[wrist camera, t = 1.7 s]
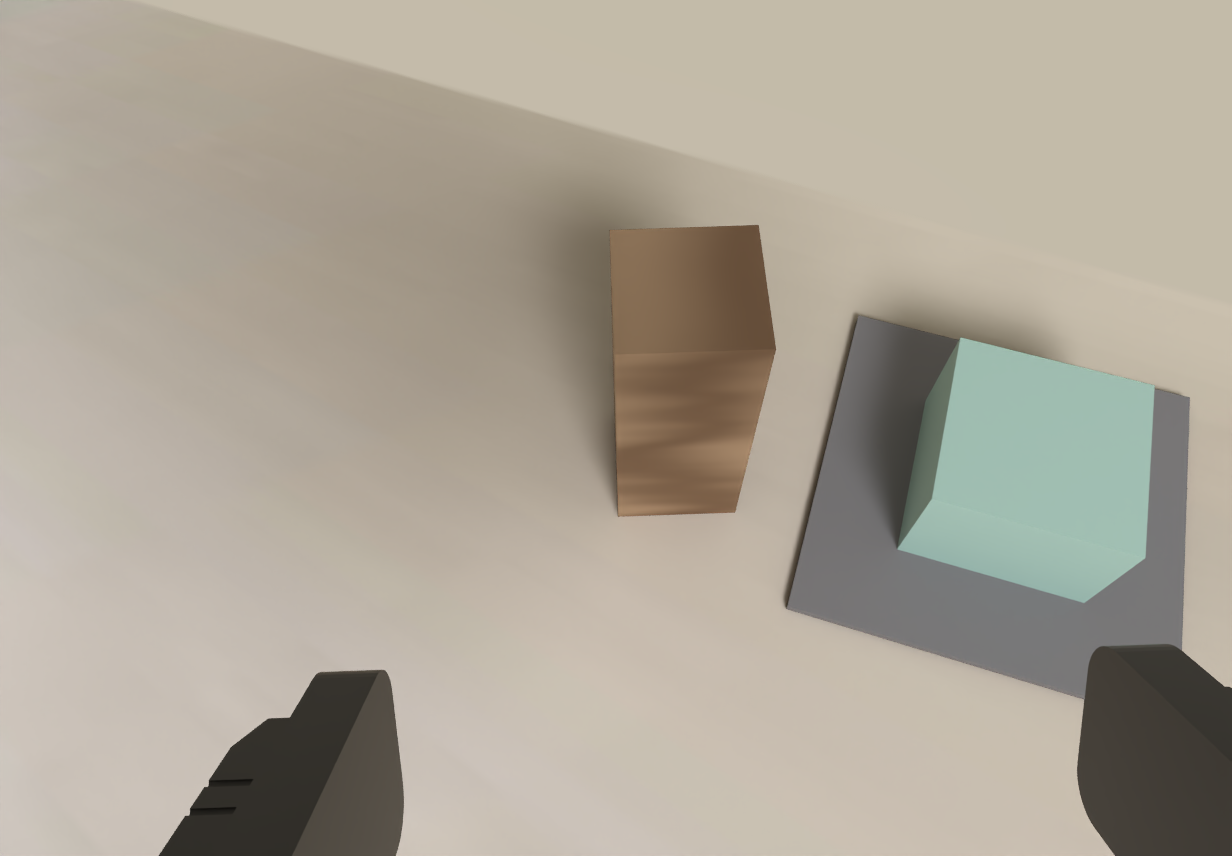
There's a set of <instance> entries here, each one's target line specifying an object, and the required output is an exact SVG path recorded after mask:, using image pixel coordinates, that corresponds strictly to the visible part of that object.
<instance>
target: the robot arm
mask: <svg viewBox="0 0 1232 856" xmlns="http://www.w3.org/2000/svg"><path fill="white" fill-rule="evenodd" d="M1077 776H1078V785H1079V790H1080V795H1081V799H1082V802H1083V805H1084V808H1085V810H1086V813H1087V815H1088V817H1089V819H1090V821H1091V823H1092V824H1093V826H1094V827H1095V829H1096V830H1097V832H1098V833H1099V834H1100V836H1101V837H1102V838H1103V840H1104V841H1105V843H1106V844H1107V845H1108V847H1109V848H1110V849H1111V851H1112V852H1113V853H1114V855H1115V856H1232V688H1230V687H1224V686H1223V685H1222V684H1221V683H1219V682H1218V681H1217V680H1216V679H1215V678H1214V677H1212V676H1211V675H1210V674H1209V673H1208V672H1206V671H1205V670H1204V669H1203V668H1202V667H1200V666H1199V665H1198V664H1197V663H1196V662H1194V661H1193V660H1192V659H1191V658H1190V657H1189V656H1187V655H1186V654H1185V653H1184V652H1183V651H1181V650H1180V649H1179V648H1177V647H1176V646H1174V645H1171V644H1146V645H1118V646H1101V647H1098V648H1097V649H1096V650H1095V651H1094V652H1093V654H1092V656H1091V658H1090V661H1089V666H1088V673H1087V682H1086V691H1085V700H1084V709H1083V718H1082V727H1081V736H1080V745H1079V754H1078V765H1077ZM403 810H404V793H403V781H402V772H401V764H400V755H399V746H398V738H397V729H396V720H395V712H394V703H393V695H392V687H391V682H390V679H389V676H388V674H387V672H386V671H385V670H366V671H338V672H320V673H318V674H316V675H315V677H314V678H313V680H312V681H311V683H310V685H309V687H308V688H307V690H306V692H305V693H304V695H303V697H302V698H301V700H300V702H299V703H298V705H297V707H296V708H295V710H294V712H293V713H292V715H291V717H290V718H271V719H267V720H266V721H265V722H263V723H262V724H261V725H259V726H258V727H257V728H255V729H254V730H253V731H252V732H250V733H249V734H248V735H246V736H245V737H244V738H242V739H241V740H240V741H239V742H237V743H236V744H235V745H233V746H232V747H231V748H230V750H229V751H228V753H227V754H226V756H225V757H224V759H223V760H222V762H221V763H220V765H219V766H218V768H217V769H216V771H215V772H214V774H213V775H212V777H211V778H210V780H209V786H208V787H204V789H203V790H202V792H201V793H200V795H199V796H198V798H197V799H196V801H195V802H194V804H193V805H192V807H191V808H190V815H189V816H185V817H184V819H183V820H182V822H181V823H180V825H179V826H178V828H177V829H176V831H175V832H174V834H173V835H172V837H171V838H170V840H169V841H168V843H167V844H166V846H165V847H164V849H163V850H162V852H161V853H160V855H159V856H396V853H397V850H398V846H399V842H400V837H401V831H402V824H403Z"/></svg>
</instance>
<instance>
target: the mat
mask: <svg viewBox="0 0 1232 856" xmlns="http://www.w3.org/2000/svg"><path fill="white" fill-rule="evenodd" d="M958 341H959V340H956V339H952V338H948V337H944V336H940V335H936V334H932V333H928V332H924V331H920V330H916V329H912V328H908V327H904V326H900V325H896V324H892V323H888V322H884V321H879V320H875V319H871V318H867V317H863V316H858V319H857V322H856V326H855V330H854V334H853V339H852V343H851V347H850V351H849V355H848V359H847V363H846V367H845V371H844V375H843V379H842V383H841V388H840V392H839V396H838V400H837V404H836V408H835V412H834V416H833V420H832V424H831V428H830V433H829V437H828V441H827V445H826V449H825V453H824V457H823V461H822V465H821V469H820V473H819V477H818V482H817V486H816V490H815V494H814V498H813V502H812V506H811V510H810V514H809V518H808V522H807V527H806V531H805V535H804V539H803V543H802V547H801V551H800V555H799V559H798V563H797V567H796V571H795V576H794V580H793V584H792V588H791V592H790V596H789V600H788V604H787V608H786V609H789V610H792V611H795V612H798V613H802V614H805V615H808V616H812V617H815V618H818V619H822V620H825V621H828V622H831V623H835V624H838V625H841V626H845V627H848V628H851V629H854V630H858V631H861V632H864V633H868V634H871V635H874V636H878V637H881V638H884V639H887V640H891V641H894V642H897V643H901V644H904V645H907V646H910V647H914V648H917V649H920V650H924V651H927V652H930V653H934V654H937V655H940V656H943V657H947V658H950V659H953V660H957V661H960V662H963V663H966V664H970V665H973V666H976V667H980V668H983V669H986V670H990V671H993V672H996V673H999V674H1003V675H1006V676H1009V677H1013V678H1016V679H1019V680H1022V681H1026V682H1029V683H1032V684H1036V685H1039V686H1042V687H1046V688H1049V689H1052V690H1055V691H1059V692H1062V693H1065V694H1069V695H1072V696H1075V697H1078V698H1082V699H1085V691H1086V682H1087V673H1088V666H1089V661H1090V658H1091V656H1092V654H1093V652H1094V651H1095V650H1096V649H1097V648H1098V647H1101V646H1118V645H1146V644H1171V645H1174V646H1176V647H1177V648H1179V649H1180V650H1181V651H1182V627H1183V595H1184V564H1185V532H1186V500H1187V469H1188V437H1189V406H1190V398H1189V397H1185V396H1181V395H1177V394H1173V393H1169V392H1165V391H1161V390H1157V389H1154V407H1153V426H1152V444H1151V463H1150V482H1149V501H1148V519H1147V538H1146V557H1145V559H1143V560H1142V561H1141V562H1139V563H1138V564H1137V565H1135V566H1134V567H1133V568H1131V569H1130V570H1128V571H1127V572H1126V573H1124V574H1123V575H1122V576H1120V577H1119V578H1118V579H1116V580H1115V581H1113V582H1112V583H1111V584H1109V585H1108V586H1107V587H1105V588H1104V589H1103V590H1101V591H1100V592H1099V593H1097V594H1096V595H1094V596H1093V597H1092V598H1090V599H1089V600H1088V601H1086V602H1085V603H1082V602H1079V601H1075V600H1072V599H1068V598H1065V597H1061V596H1058V595H1054V594H1051V593H1048V592H1044V591H1041V590H1037V589H1034V588H1030V587H1027V586H1023V585H1020V584H1016V583H1013V582H1009V581H1006V580H1002V579H999V578H995V577H992V576H988V575H985V574H981V573H978V572H974V571H971V570H967V569H964V568H961V567H957V566H954V565H950V564H947V563H943V562H940V561H936V560H933V559H929V558H926V557H922V556H919V555H915V554H912V553H908V552H905V551H901V550H898V549H897V547H898V542H899V537H900V531H901V526H902V521H903V516H904V510H905V505H906V500H907V495H908V490H909V484H910V479H911V474H912V469H913V463H914V458H915V453H916V448H917V442H918V437H919V432H920V427H921V422H922V416H923V411H924V406H925V401H926V399H927V397H928V395H929V393H930V392H931V390H932V388H933V386H934V384H935V383H936V381H937V379H938V377H939V375H940V373H941V372H942V370H943V368H944V366H945V364H946V363H947V361H948V359H949V357H950V355H951V354H952V352H953V350H954V348H955V346H956V345H957V343H958Z"/></svg>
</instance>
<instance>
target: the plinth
mask: <svg viewBox="0 0 1232 856" xmlns="http://www.w3.org/2000/svg"><path fill="white" fill-rule="evenodd" d="M1154 388H1155V385H1151V384H1147V383H1143V382H1139V381H1135V380H1131V379H1127V378H1123V377H1118V376H1114V375H1110V374H1106V373H1102V372H1098V371H1094V370H1090V369H1086V368H1082V367H1078V366H1074V365H1070V364H1066V363H1062V362H1058V361H1054V360H1050V359H1046V358H1042V357H1038V356H1034V355H1030V354H1026V353H1022V352H1018V351H1014V350H1010V349H1006V348H1001V347H997V346H993V345H989V344H985V343H981V342H977V341H973V340H969V339H965V338H961V337H960V339H959V341H958V343H957V345H956V346H955V348H954V350H953V352H952V354H951V355H950V357H949V359H948V361H947V363H946V364H945V366H944V368H943V370H942V372H941V373H940V375H939V377H938V379H937V381H936V383H935V384H934V386H933V388H932V390H931V392H930V393H929V395H928V397H927V399H926V401H925V406H924V411H923V416H922V422H921V427H920V432H919V437H918V442H917V448H916V453H915V458H914V463H913V469H912V474H911V479H910V484H909V490H908V495H907V500H906V505H905V510H904V516H903V521H902V526H901V531H900V537H899V542H898V547H897V549H898V550H901V551H905V552H908V553H912V554H915V555H919V556H922V557H926V558H929V559H933V560H936V561H940V562H943V563H947V564H950V565H954V566H957V567H961V568H964V569H967V570H971V571H974V572H978V573H981V574H985V575H988V576H992V577H995V578H999V579H1002V580H1006V581H1009V582H1013V583H1016V584H1020V585H1023V586H1027V587H1030V588H1034V589H1037V590H1041V591H1044V592H1048V593H1051V594H1054V595H1058V596H1061V597H1065V598H1068V599H1072V600H1075V601H1079V602H1082V603H1085V602H1086V601H1088V600H1089V599H1090V598H1092V597H1093V596H1094V595H1096V594H1097V593H1099V592H1100V591H1101V590H1103V589H1104V588H1105V587H1107V586H1108V585H1109V584H1111V583H1112V582H1113V581H1115V580H1116V579H1118V578H1119V577H1120V576H1122V575H1123V574H1124V573H1126V572H1127V571H1128V570H1130V569H1131V568H1133V567H1134V566H1135V565H1137V564H1138V563H1139V562H1141V561H1142V560H1143V559H1145V557H1146V538H1147V519H1148V501H1149V482H1150V463H1151V444H1152V426H1153V407H1154Z"/></svg>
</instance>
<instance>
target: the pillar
mask: <svg viewBox="0 0 1232 856" xmlns="http://www.w3.org/2000/svg"><path fill="white" fill-rule="evenodd" d="M610 263H611V301H612V340H613V378H614V416H615V443H616V469H617V496H618V516H646V515H674V514H703V513H731V512H735V510H736V506H737V502H738V498H739V494H740V490H741V486H742V482H743V478H744V474H745V470H746V467H747V463H748V459H749V455H750V451H751V447H752V443H753V439H754V435H755V431H756V427H757V423H758V419H759V415H760V411H761V407H762V403H763V399H764V395H765V391H766V387H767V383H768V379H769V375H770V371H771V367H772V363H773V359H774V355H775V351H776V346H775V339H774V332H773V325H772V317H771V310H770V303H769V296H768V289H767V282H766V275H765V268H764V261H763V254H762V247H761V239H760V232H759V225H747V226H717V227H687V228H657V229H627V230H610Z"/></svg>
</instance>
